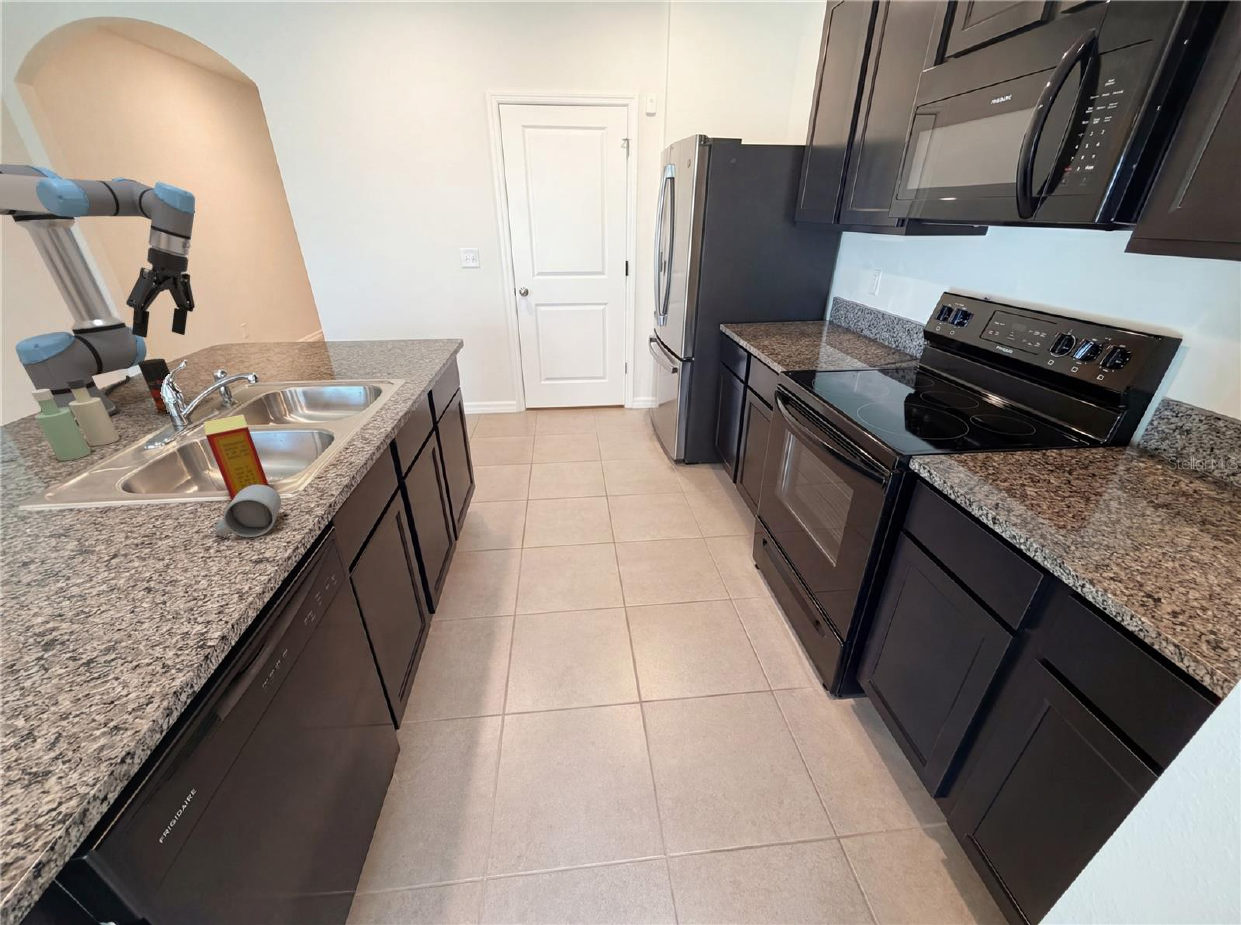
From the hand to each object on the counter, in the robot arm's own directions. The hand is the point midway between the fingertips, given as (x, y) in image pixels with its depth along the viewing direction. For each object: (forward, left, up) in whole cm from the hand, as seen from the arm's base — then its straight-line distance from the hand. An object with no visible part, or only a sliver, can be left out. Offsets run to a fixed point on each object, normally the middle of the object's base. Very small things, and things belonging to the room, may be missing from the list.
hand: (159, 334), depth 131 cm
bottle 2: (+7, -18, -25) cm, 31 cm away
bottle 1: (+15, -20, -25) cm, 35 cm away
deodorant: (-16, -11, -25) cm, 31 cm away
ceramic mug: (+68, +31, -25) cm, 78 cm away
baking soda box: (+52, +27, -25) cm, 64 cm away
